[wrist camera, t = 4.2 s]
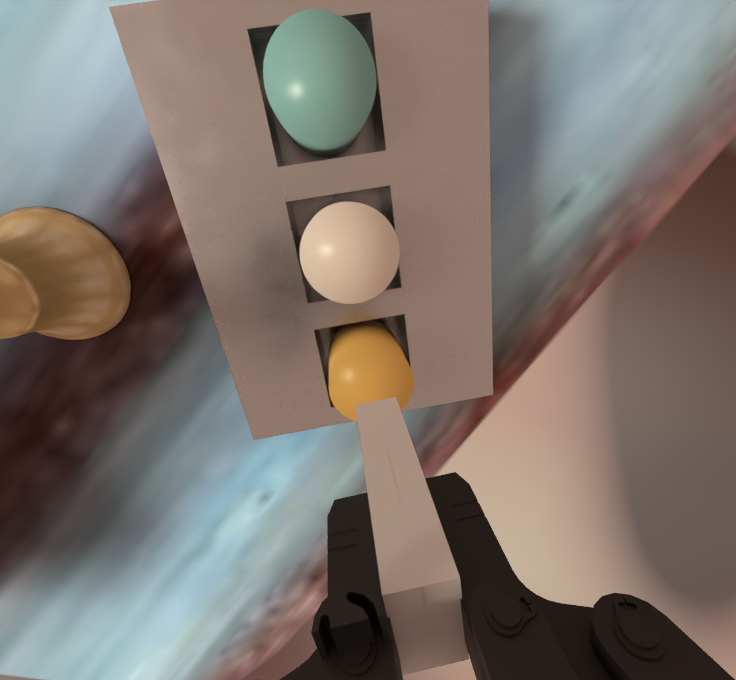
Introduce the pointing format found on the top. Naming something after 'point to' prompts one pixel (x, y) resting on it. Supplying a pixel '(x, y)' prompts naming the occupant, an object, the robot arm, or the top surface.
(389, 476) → the robot arm
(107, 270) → the hand bell
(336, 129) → the teal button
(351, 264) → the ivory button
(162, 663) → the top surface
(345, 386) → the amber button
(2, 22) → the top surface
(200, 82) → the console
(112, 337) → the top surface
